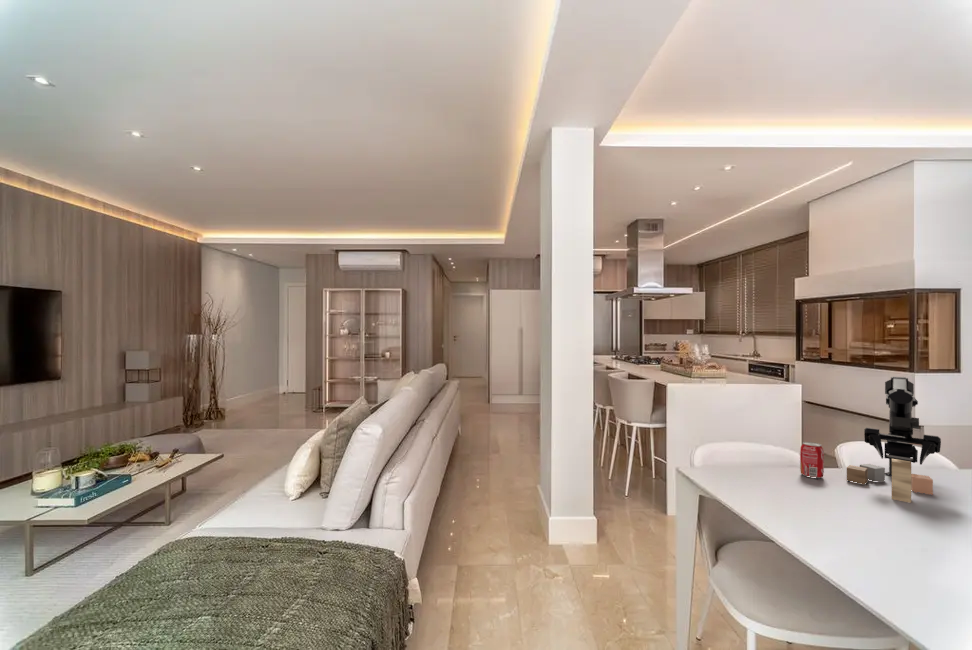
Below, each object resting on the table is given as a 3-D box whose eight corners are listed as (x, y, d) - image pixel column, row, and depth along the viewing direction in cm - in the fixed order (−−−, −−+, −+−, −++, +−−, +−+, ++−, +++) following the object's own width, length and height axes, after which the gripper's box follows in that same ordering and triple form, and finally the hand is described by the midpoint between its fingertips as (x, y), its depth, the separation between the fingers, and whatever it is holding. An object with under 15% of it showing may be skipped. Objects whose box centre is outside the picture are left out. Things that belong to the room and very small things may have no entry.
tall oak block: (891, 495, 146) (891, 458, 146) (910, 499, 143) (910, 461, 143) (891, 499, 142) (891, 461, 143) (911, 502, 139) (911, 464, 140)
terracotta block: (908, 487, 154) (908, 473, 154) (928, 490, 151) (928, 476, 151) (912, 491, 150) (912, 476, 150) (932, 495, 147) (932, 480, 147)
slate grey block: (869, 477, 165) (869, 463, 165) (884, 481, 160) (884, 467, 160) (859, 478, 164) (859, 464, 164) (874, 482, 159) (874, 468, 159)
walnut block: (849, 478, 163) (849, 465, 163) (867, 482, 159) (867, 468, 159) (846, 481, 159) (846, 467, 159) (864, 485, 156) (864, 471, 156)
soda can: (815, 474, 167) (816, 441, 168) (828, 480, 160) (828, 446, 161) (795, 473, 168) (796, 441, 168) (807, 479, 161) (807, 445, 161)
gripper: (864, 404, 157) (863, 441, 148) (940, 411, 144) (943, 452, 136) (865, 423, 162) (864, 460, 154) (938, 432, 150) (941, 472, 141)
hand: (901, 460), depth 146 cm, fingers open, 9 cm apart
